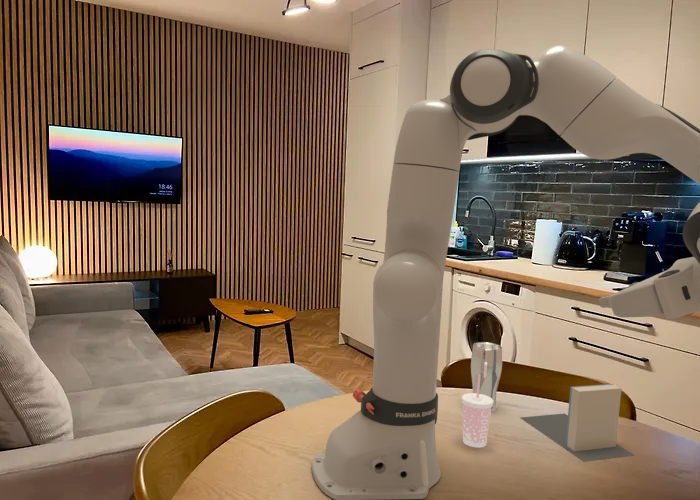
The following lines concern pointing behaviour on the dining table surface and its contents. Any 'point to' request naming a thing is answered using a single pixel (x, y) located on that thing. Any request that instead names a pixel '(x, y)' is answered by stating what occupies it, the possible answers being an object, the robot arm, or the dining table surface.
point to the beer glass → (486, 369)
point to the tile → (593, 417)
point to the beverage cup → (476, 417)
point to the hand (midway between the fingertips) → (616, 295)
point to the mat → (557, 431)
